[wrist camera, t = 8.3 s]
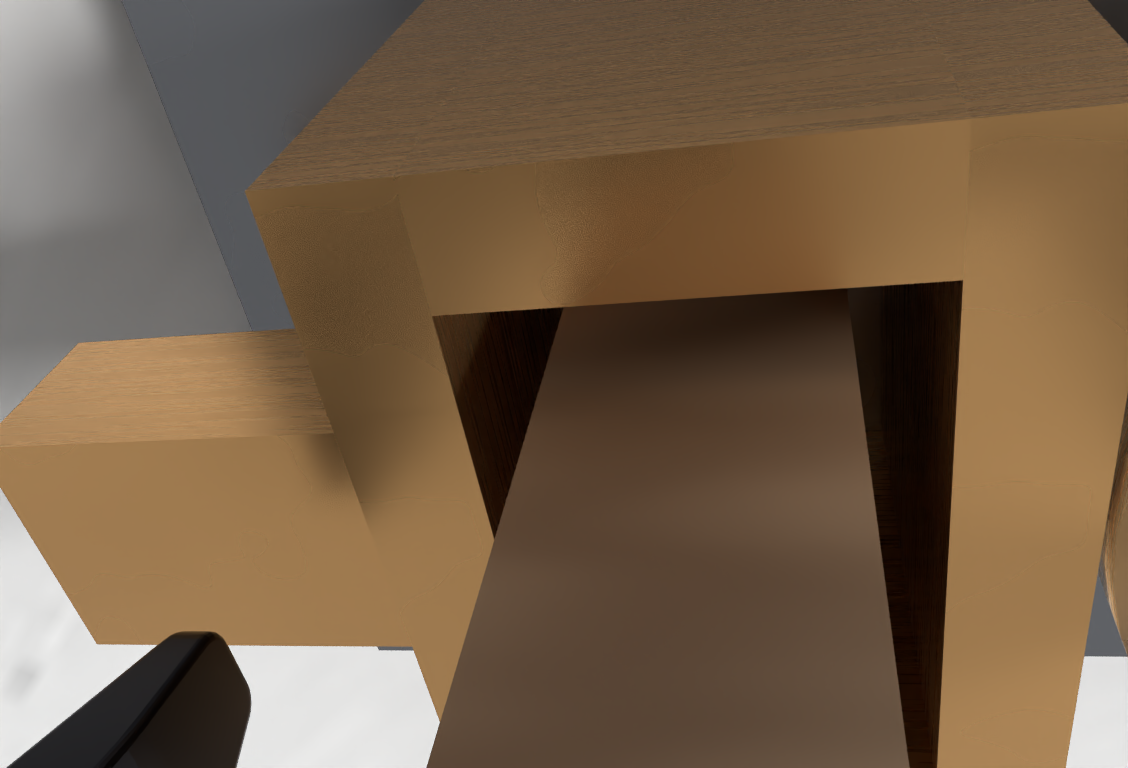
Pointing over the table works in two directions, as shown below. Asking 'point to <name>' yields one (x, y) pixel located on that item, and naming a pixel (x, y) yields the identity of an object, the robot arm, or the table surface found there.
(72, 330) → the table surface
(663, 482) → the wedge
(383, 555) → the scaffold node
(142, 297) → the table surface
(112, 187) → the table surface
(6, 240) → the table surface
